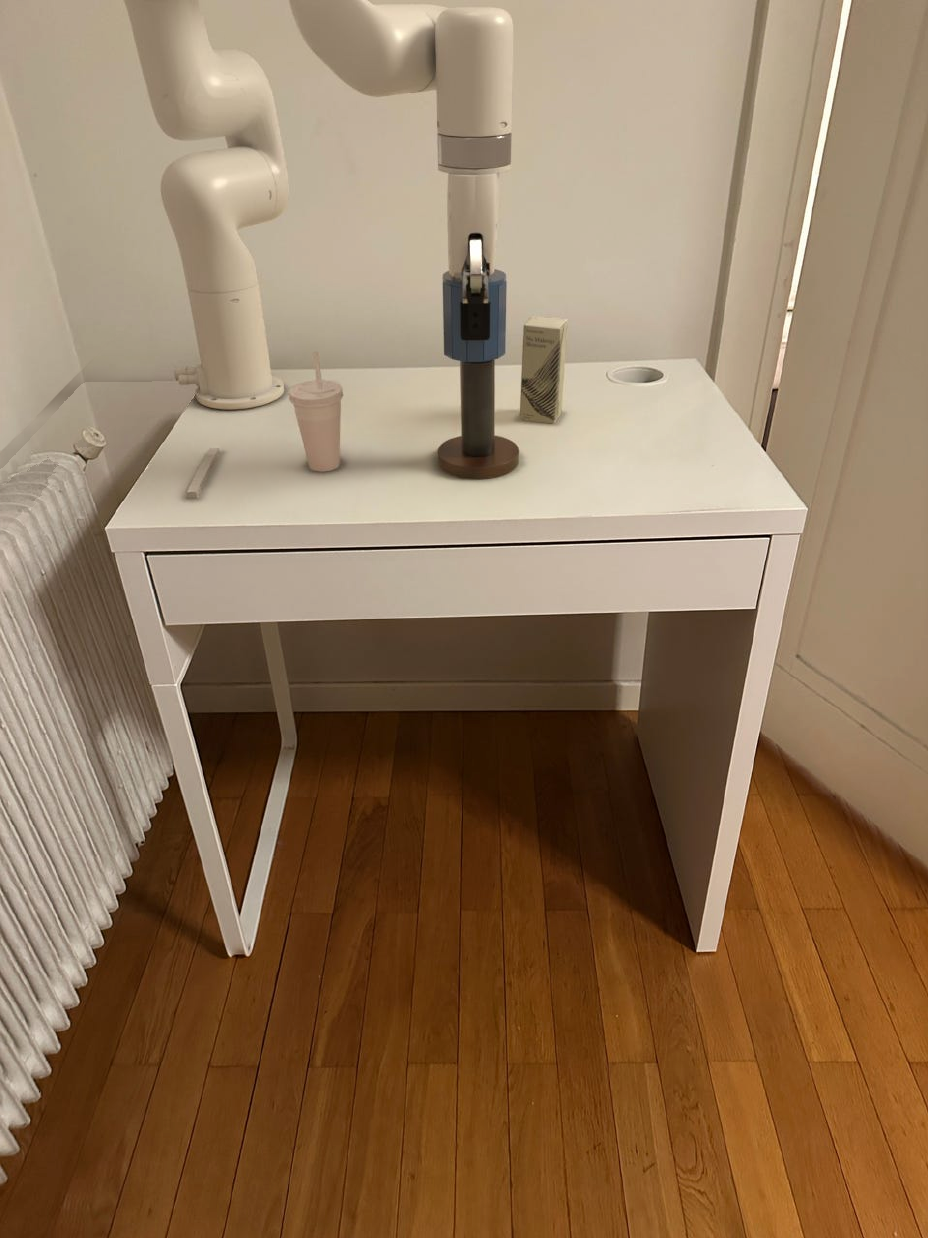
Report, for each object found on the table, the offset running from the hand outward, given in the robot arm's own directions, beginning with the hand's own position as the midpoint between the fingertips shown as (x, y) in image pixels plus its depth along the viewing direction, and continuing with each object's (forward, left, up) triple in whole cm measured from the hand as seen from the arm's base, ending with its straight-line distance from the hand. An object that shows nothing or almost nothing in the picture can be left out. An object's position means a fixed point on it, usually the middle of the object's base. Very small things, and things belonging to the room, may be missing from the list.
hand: (474, 327), depth 102 cm
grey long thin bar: (-33, -2, -17) cm, 37 cm away
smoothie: (-19, 0, -17) cm, 25 cm away
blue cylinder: (0, 0, -3) cm, 3 cm away
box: (+9, +14, -17) cm, 24 cm away
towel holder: (0, 0, -16) cm, 16 cm away
